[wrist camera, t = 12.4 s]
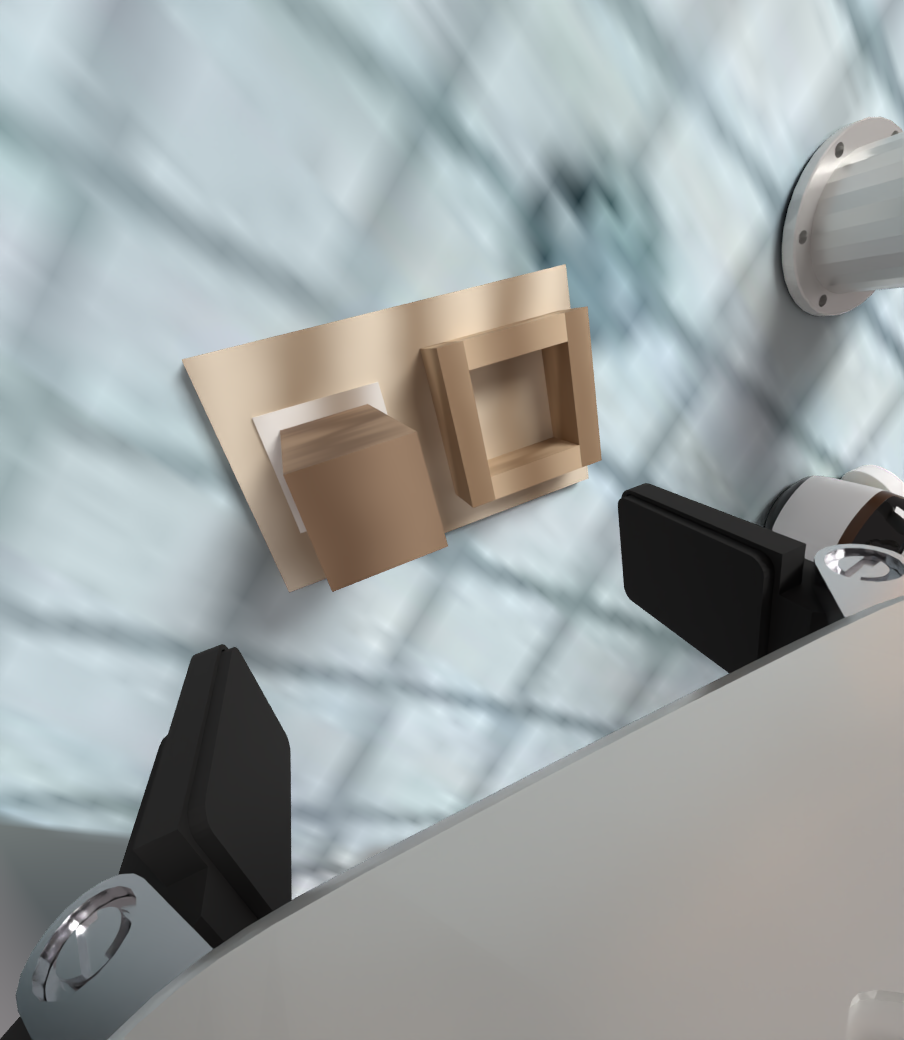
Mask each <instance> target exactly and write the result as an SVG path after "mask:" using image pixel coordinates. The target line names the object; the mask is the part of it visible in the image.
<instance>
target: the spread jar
mask: <svg viewBox="0 0 904 1040" xmlns="http://www.w3.org/2000/svg"><path fill="white" fill-rule="evenodd" d="M765 528H766V529H769V530H771V531H774V532H777V533H779V534H782V535H784V536H787V537H790V538H792V539H795V540H798V541H800V542H803V543H805V544H806V550H805V559H808V560H810V561H813V562H814V557H815V555H816V553H817V552H818V551H820V550H821V549H823V548H825V547H829V546H833V545H839V544H864V545H870V546H876V547H881V548H884V549H888V550H891V551H894V552H896V553H898V554H901V555H903V556H904V483H903V482H902V481H901V480H900V479H899V478H898V477H897V476H896V475H894V474H893V473H892V472H890V471H888V470H887V469H884V468H882V467H880V466H876V465H864V466H861V467H858V468H856V469H854V470H851V471H849V472H847V473H845V474H844V476H843V477H842V479H841V480H840V479H835V478H830V477H824V476H809V477H805V478H803V479H801V480H799V481H798V482H796V483H795V484H793V485H792V486H791V487H790V488H788V489H787V490H786V491H784V492H783V493H782V494H781V495H780V496H779V498H778V499H777V500H776V502H775V503H774V504H773V506H772V508H771V510H770V512H769V514H768V517H767V520H766V524H765Z"/></svg>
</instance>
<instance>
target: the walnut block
mask: <svg viewBox="0 0 904 1040" xmlns="http://www.w3.org/2000/svg"><path fill="white" fill-rule="evenodd" d="M280 438H281V452H282V465H283V476H284V478H285V481H286V483H287V485H288V488H289V490H290V493H291V495H292V497H293V500H294V502H295V504H296V507H297V509H298V512H299V514H300V516H301V519H302V521H303V523H304V526H305V528H306V531H307V533H308V535H309V538H310V540H311V542H312V545H313V547H314V550H315V552H316V554H317V557H318V559H319V561H320V564H321V566H322V569H323V571H324V573H325V576H326V578H327V580H328V583H329V585H330V587H331V590H332V592H334V591H336V590H339V589H341V588H344V587H346V586H349V585H351V584H354V583H356V582H359V581H361V580H364V579H366V578H369V577H371V576H374V575H376V574H379V573H381V572H384V571H387V570H389V569H392V568H394V567H397V566H399V565H402V564H404V563H407V562H409V561H412V560H414V559H417V558H419V557H422V556H424V555H427V554H429V553H432V552H435V551H437V550H440V549H442V548H445V547H447V546H448V544H447V540H446V537H445V533H444V530H443V526H442V522H441V519H440V515H439V511H438V508H437V504H436V500H435V497H434V493H433V489H432V486H431V482H430V478H429V475H428V471H427V467H426V464H425V460H424V457H423V453H422V449H421V446H420V442H419V438H418V435H417V432H416V431H415V430H413V429H411V428H409V427H408V426H406V425H404V424H402V423H401V422H399V421H397V420H395V419H394V418H392V417H390V416H388V415H386V414H385V413H383V412H381V411H379V410H378V409H376V408H374V407H372V406H371V405H369V404H366V405H362V406H359V407H356V408H353V409H349V410H346V411H343V412H339V413H336V414H333V415H329V416H326V417H323V418H320V419H316V420H313V421H310V422H306V423H303V424H300V425H297V426H293V427H290V428H287V429H283V430H280Z"/></svg>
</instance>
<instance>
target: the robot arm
mask: <svg viewBox="0 0 904 1040" xmlns="http://www.w3.org/2000/svg"><path fill="white" fill-rule="evenodd" d="M782 267H783V273H784V279H785V282H786V285H787V288H788V290H789V293H790V295H791V296H792V298H793V300H794V301H795V303H796V304H797V305H798V306H799V307H800V308H801V309H802V310H803V311H805V312H807V313H809V314H811V315H815V316H832V315H840V314H843V313H846V312H849V311H851V310H852V309H854V308H856V307H857V306H859V305H860V304H862V303H863V302H864V301H865V300H866V299H867V298H869V297H870V296H871V295H872V294H873V292H874V291H875V290H882V289H892V288H902V287H904V132H903V131H902V129H901V128H900V127H898V126H897V125H896V124H895V123H894V122H893V121H891V120H889V119H886V118H883V117H868V118H865V119H863V120H860V121H857V122H854V123H851V124H849V125H847V126H845V127H843V128H841V129H839V130H837V131H836V132H835V133H834V134H833V135H832V136H830V137H829V138H828V139H827V140H826V141H825V142H824V143H823V144H822V145H821V146H820V148H819V149H818V150H817V151H816V152H815V153H814V155H813V156H812V158H811V159H810V161H809V163H808V164H807V166H806V167H805V169H804V171H803V172H802V175H801V177H800V179H799V181H798V183H797V185H796V187H795V189H794V192H793V195H792V198H791V201H790V204H789V207H788V210H787V215H786V219H785V224H784V229H783V239H782ZM618 514H619V527H620V540H621V553H622V566H623V579H624V589H625V592H626V594H627V596H628V597H629V598H630V600H632V601H633V602H634V603H635V604H637V605H638V606H639V607H641V608H642V609H643V610H645V611H646V612H647V613H649V614H650V615H652V616H653V617H654V618H656V619H657V620H658V621H660V622H661V623H662V624H664V625H665V626H666V627H668V628H669V629H670V630H672V631H673V632H674V633H676V634H677V635H678V636H680V637H681V638H683V639H684V640H685V641H687V642H688V643H689V644H691V645H692V646H693V647H695V648H696V649H697V650H699V651H700V652H701V653H703V654H704V655H705V656H707V657H708V658H709V659H711V660H712V661H714V662H715V663H716V664H718V665H719V666H720V667H722V668H723V669H724V670H726V671H727V672H728V673H730V674H728V675H726V676H724V677H722V678H720V679H718V680H716V681H714V682H712V683H710V684H708V685H706V686H704V687H702V688H700V689H698V690H696V691H694V692H692V693H690V694H688V695H686V696H684V697H682V698H680V699H678V700H676V701H674V702H672V703H670V704H668V705H666V706H664V707H662V708H660V709H658V710H656V711H654V712H652V713H650V714H648V715H646V716H644V717H642V718H640V719H638V720H636V721H634V722H633V723H631V724H629V725H627V726H625V727H623V728H621V729H619V730H617V731H615V732H613V733H611V734H609V735H607V736H605V737H603V738H601V739H599V740H597V741H595V742H593V743H591V744H589V745H587V746H585V747H583V748H581V749H579V750H577V751H576V752H574V753H572V754H570V755H568V756H566V757H564V758H562V759H560V760H558V761H556V762H554V763H552V764H550V765H548V766H546V767H544V768H542V769H540V770H538V771H536V772H534V773H532V774H530V775H529V776H527V777H525V778H523V779H521V780H519V781H517V782H515V783H513V784H511V785H509V786H507V787H505V788H503V789H501V790H499V791H498V792H496V793H494V794H492V795H490V796H488V797H486V798H484V799H482V800H480V801H478V802H476V803H474V804H472V805H470V806H468V807H467V808H465V809H463V810H461V811H459V812H457V813H455V814H453V815H451V816H449V817H447V818H445V819H443V820H441V821H439V822H437V823H436V824H434V825H432V826H430V827H428V828H426V829H424V830H422V831H420V832H418V833H416V834H414V835H412V836H410V837H408V838H407V839H405V840H403V841H401V842H399V843H397V844H395V845H393V846H391V847H389V848H387V849H386V850H384V851H382V852H380V853H378V854H376V855H374V856H373V857H371V858H369V859H367V860H365V861H363V862H361V863H360V864H358V865H356V866H354V867H352V868H350V869H348V870H347V871H345V872H343V873H341V874H339V875H337V876H335V877H333V878H332V879H330V880H328V881H326V882H324V883H322V884H320V885H319V886H317V887H315V888H313V889H311V890H309V891H307V892H306V893H304V894H302V895H300V896H298V897H296V898H295V899H293V900H291V763H290V745H289V741H288V738H287V736H286V733H285V732H284V730H283V728H282V726H281V724H280V723H279V721H278V719H277V717H276V715H275V714H274V712H273V710H272V708H271V706H270V705H269V703H268V701H267V699H266V698H265V696H264V694H263V692H262V690H261V689H260V687H259V685H258V683H257V681H256V680H255V678H254V676H253V674H252V672H251V671H250V669H249V667H248V665H247V663H246V662H245V660H244V658H243V656H242V655H241V653H240V651H239V650H238V649H237V648H236V647H233V648H230V649H228V648H227V647H226V646H225V645H223V644H221V645H219V646H216V647H214V648H211V649H208V650H206V651H203V652H200V653H198V654H195V655H193V656H192V658H191V661H190V664H189V668H188V671H187V674H186V677H185V681H184V684H183V687H182V690H181V694H180V697H179V700H178V703H177V707H176V710H175V713H174V717H173V720H172V723H171V726H170V730H169V733H168V735H167V736H166V737H165V738H164V739H163V740H162V742H161V744H160V746H159V749H158V752H157V755H156V759H155V762H154V765H153V768H152V771H151V774H150V777H149V781H148V784H147V787H146V790H145V793H144V796H143V799H142V802H141V806H140V809H139V812H138V815H137V818H136V821H135V824H134V827H133V831H132V834H131V837H130V840H129V843H128V846H127V850H126V853H125V856H124V859H123V862H122V865H121V868H120V871H119V874H118V875H117V876H114V877H112V878H109V879H107V880H104V881H102V882H100V883H99V884H97V885H96V886H94V887H93V888H91V889H89V890H88V891H86V892H85V893H84V894H83V895H81V896H80V897H79V898H78V899H77V900H75V901H74V902H73V903H72V904H71V905H70V906H69V907H67V908H66V909H65V910H64V911H63V913H62V914H61V915H60V916H59V917H58V918H57V919H56V920H55V921H54V922H53V924H52V925H51V926H50V927H49V928H48V929H47V931H46V932H45V933H44V935H43V936H42V938H41V939H40V941H39V942H38V944H37V945H36V947H35V948H34V949H33V951H32V952H31V954H30V957H29V959H28V961H27V963H26V965H25V967H24V969H23V971H22V973H21V976H20V980H19V984H18V988H17V992H16V1001H17V1008H18V1012H19V1014H20V1017H19V1018H18V1019H17V1021H16V1022H15V1023H14V1024H13V1025H12V1026H11V1027H10V1028H9V1030H8V1031H7V1032H6V1033H5V1034H4V1035H3V1037H2V1038H1V1039H0V1040H904V556H903V555H901V554H898V553H896V552H894V551H891V550H888V549H884V548H881V547H876V546H870V545H864V544H839V545H833V546H829V547H825V548H823V549H821V550H820V551H818V552H817V553H816V555H815V557H814V562H813V561H810V560H808V559H805V550H806V544H805V543H803V542H800V541H798V540H795V539H792V538H790V537H787V536H784V535H782V534H779V533H777V532H774V531H771V530H769V529H766V528H764V527H761V526H758V525H756V524H753V523H750V522H748V521H745V520H743V519H740V518H737V517H735V516H732V515H730V514H727V513H724V512H722V511H719V510H716V509H714V508H711V507H709V506H706V505H703V504H701V503H698V502H696V501H693V500H690V499H688V498H685V497H682V496H680V495H677V494H675V493H672V492H669V491H667V490H664V489H662V488H659V487H656V486H654V485H651V484H647V483H645V484H642V485H639V486H637V487H634V488H631V489H629V490H626V491H625V492H624V493H623V494H622V498H621V499H620V500H619V502H618Z"/></svg>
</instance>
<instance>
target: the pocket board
mask: <svg viewBox="0 0 904 1040" xmlns="http://www.w3.org/2000/svg"><path fill="white" fill-rule="evenodd" d="M182 362H183V364H184V366H185V368H186V370H187V372H188V375H189V377H190V379H191V381H192V383H193V385H194V388H195V390H196V392H197V394H198V396H199V398H200V401H201V403H202V405H203V407H204V409H205V411H206V413H207V416H208V418H209V420H210V422H211V424H212V426H213V429H214V431H215V433H216V435H217V437H218V439H219V442H220V444H221V446H222V448H223V450H224V452H225V455H226V457H227V459H228V461H229V463H230V465H231V468H232V470H233V472H234V474H235V476H236V478H237V481H238V483H239V485H240V487H241V489H242V491H243V493H244V496H245V498H246V500H247V502H248V504H249V506H250V509H251V511H252V513H253V515H254V517H255V519H256V522H257V524H258V526H259V528H260V530H261V532H262V535H263V537H264V539H265V541H266V543H267V545H268V548H269V550H270V552H271V554H272V556H273V558H274V560H275V563H276V565H277V567H278V569H279V571H280V573H281V576H282V578H283V580H284V582H285V584H286V586H287V589H288V591H289V592H292V591H295V590H297V589H300V588H302V587H305V586H308V585H310V584H313V583H316V582H318V581H321V580H323V579H326V576H325V573H324V571H323V569H322V566H321V564H320V561H319V559H318V557H317V554H316V552H315V550H314V547H313V545H312V542H311V540H310V538H309V535H308V533H307V531H306V528H305V526H304V523H303V521H302V519H301V516H300V514H299V512H298V509H297V507H296V504H295V502H294V500H293V497H292V495H291V493H290V490H289V488H288V485H287V483H286V481H285V478H284V476H283V465H282V452H281V438H280V430H283V429H287V428H290V427H293V426H297V425H300V424H303V423H306V422H310V421H313V420H316V419H320V418H323V417H326V416H329V415H333V414H336V413H339V412H343V411H346V410H349V409H353V408H356V407H359V406H362V405H366V404H369V405H371V406H372V407H374V408H376V409H378V410H379V411H381V412H383V413H385V414H386V415H388V416H390V417H392V418H394V419H395V420H397V421H399V422H401V423H402V424H404V425H406V426H408V427H409V428H411V429H413V430H415V431H416V432H417V435H418V438H419V442H420V446H421V449H422V453H423V457H424V460H425V464H426V467H427V471H428V475H429V478H430V482H431V486H432V489H433V493H434V497H435V500H436V504H437V508H438V511H439V515H440V519H441V522H442V526H443V530H444V533H447V532H449V531H452V530H454V529H457V528H460V527H462V526H465V525H467V524H470V523H473V522H475V521H478V520H481V519H483V518H486V517H488V516H491V515H494V514H496V513H499V512H502V511H504V510H507V509H509V508H512V507H515V506H517V505H520V504H522V503H525V502H528V501H530V500H533V499H536V498H538V497H541V496H543V495H546V494H549V493H551V492H554V491H557V490H559V489H562V488H564V487H567V486H570V485H572V484H575V483H577V482H580V481H583V480H585V479H588V469H587V465H590V464H593V463H595V462H598V461H601V449H600V438H599V427H598V416H597V405H596V394H595V383H594V372H593V361H592V351H591V340H590V329H589V318H588V307H581V308H574V309H570V300H569V291H568V282H567V272H566V264H565V265H561V266H557V267H553V268H549V269H545V270H541V271H537V272H533V273H529V274H525V275H521V276H517V277H512V278H508V279H504V280H500V281H496V282H492V283H488V284H484V285H480V286H476V287H472V288H468V289H464V290H460V291H456V292H452V293H448V294H444V295H440V296H436V297H432V298H428V299H424V300H420V301H416V302H412V303H408V304H404V305H400V306H396V307H392V308H388V309H384V310H380V311H376V312H372V313H367V314H363V315H359V316H355V317H351V318H347V319H343V320H339V321H335V322H331V323H327V324H323V325H319V326H315V327H311V328H307V329H303V330H299V331H295V332H291V333H287V334H283V335H279V336H275V337H271V338H267V339H263V340H259V341H255V342H251V343H247V344H243V345H239V346H235V347H231V348H227V349H222V350H218V351H214V352H210V353H206V354H202V355H198V356H194V357H190V358H186V359H182Z"/></svg>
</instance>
